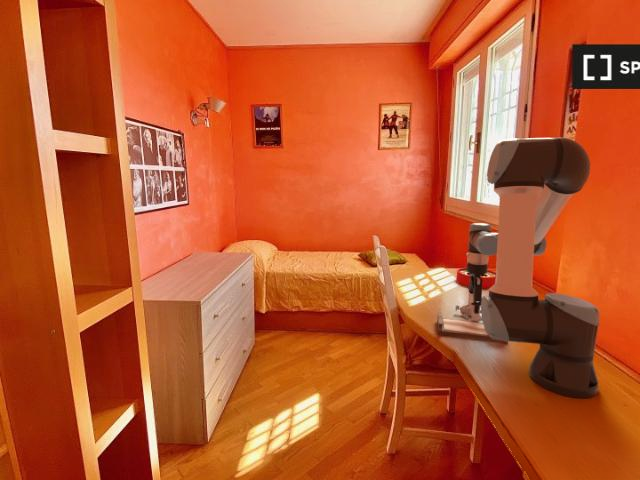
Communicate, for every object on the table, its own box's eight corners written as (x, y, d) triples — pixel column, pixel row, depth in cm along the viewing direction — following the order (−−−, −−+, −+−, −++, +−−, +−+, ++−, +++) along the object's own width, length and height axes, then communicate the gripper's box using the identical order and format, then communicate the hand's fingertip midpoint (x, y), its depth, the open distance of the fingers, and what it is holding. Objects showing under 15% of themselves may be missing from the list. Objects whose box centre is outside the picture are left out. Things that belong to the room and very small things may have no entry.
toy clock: (507, 274, 176) (480, 279, 167) (506, 285, 177) (479, 290, 168) (475, 266, 193) (448, 270, 185) (474, 276, 194) (448, 280, 186)
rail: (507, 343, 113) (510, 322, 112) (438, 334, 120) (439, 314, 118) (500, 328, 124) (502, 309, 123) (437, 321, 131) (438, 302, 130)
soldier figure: (485, 326, 129) (454, 311, 133) (481, 329, 133) (451, 315, 137) (491, 308, 132) (461, 295, 136) (488, 313, 136) (458, 299, 141)
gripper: (463, 255, 146) (460, 303, 150) (470, 269, 123) (466, 325, 127) (483, 256, 144) (478, 305, 147) (493, 271, 121) (488, 327, 124)
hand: (473, 314), depth 137 cm, fingers open, 12 cm apart
